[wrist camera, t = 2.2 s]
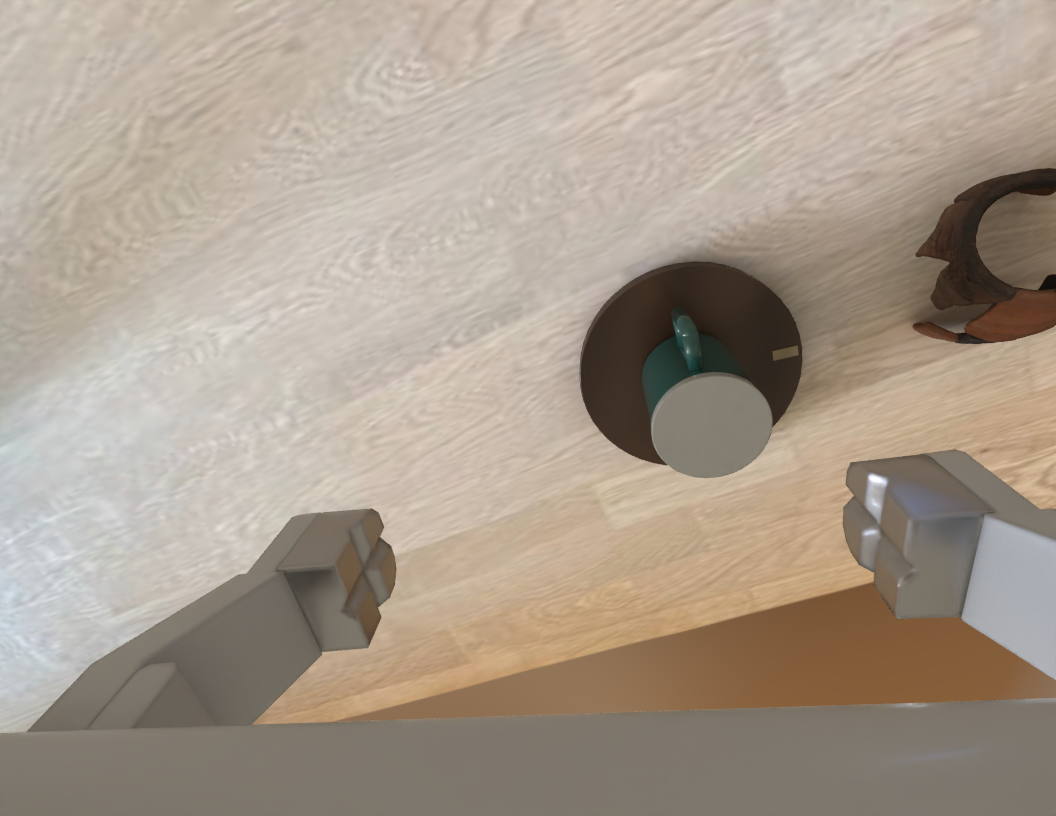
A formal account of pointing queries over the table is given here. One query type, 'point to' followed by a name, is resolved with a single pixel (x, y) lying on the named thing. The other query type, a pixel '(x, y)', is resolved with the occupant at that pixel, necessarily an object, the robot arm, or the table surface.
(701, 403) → the green lidded mug
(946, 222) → the brown strap loop
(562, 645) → the table surface
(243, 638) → the robot arm
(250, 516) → the table surface
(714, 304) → the turntable
